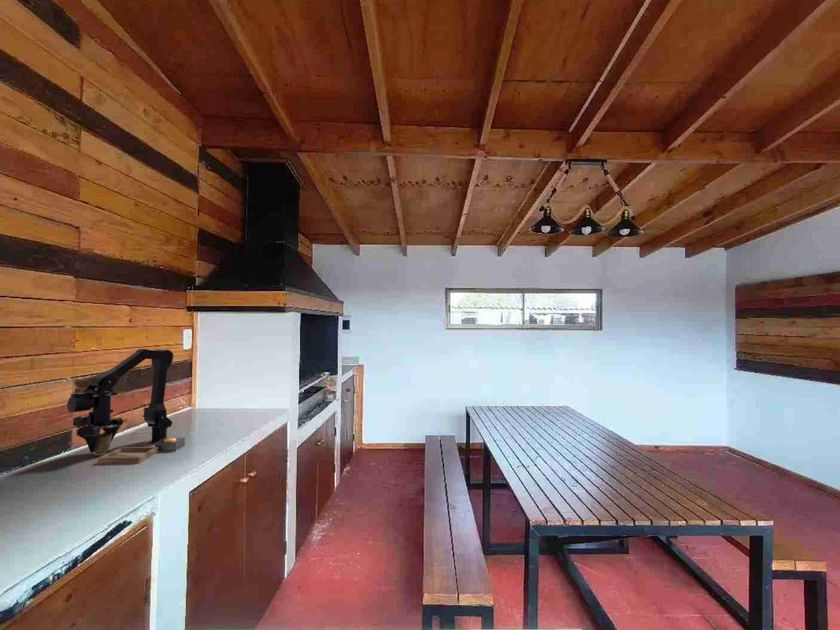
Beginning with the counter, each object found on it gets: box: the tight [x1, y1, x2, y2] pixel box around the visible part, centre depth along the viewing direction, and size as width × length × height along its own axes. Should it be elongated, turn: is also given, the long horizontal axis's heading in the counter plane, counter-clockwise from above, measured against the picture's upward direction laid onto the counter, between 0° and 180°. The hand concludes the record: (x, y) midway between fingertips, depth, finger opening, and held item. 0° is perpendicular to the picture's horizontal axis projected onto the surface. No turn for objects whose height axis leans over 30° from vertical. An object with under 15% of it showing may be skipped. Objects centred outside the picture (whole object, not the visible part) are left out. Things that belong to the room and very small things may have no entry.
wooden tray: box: [97, 446, 160, 465], centre depth 162 cm, size 14×14×2 cm
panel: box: [154, 436, 186, 452], centre depth 175 cm, size 8×8×4 cm
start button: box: [164, 437, 176, 442], centre depth 175 cm, size 4×4×2 cm
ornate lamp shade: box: [93, 431, 112, 457], centre depth 165 cm, size 8×7×8 cm
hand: (100, 448), depth 165 cm, fingers open, 9 cm apart
